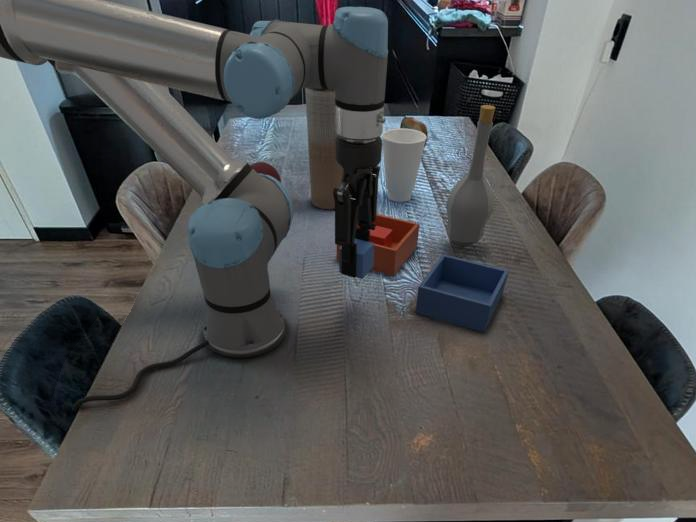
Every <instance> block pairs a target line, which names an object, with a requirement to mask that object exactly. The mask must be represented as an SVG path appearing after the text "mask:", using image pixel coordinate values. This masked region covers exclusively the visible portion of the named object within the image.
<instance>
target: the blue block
mask: <svg viewBox="0 0 696 522" xmlns="http://www.w3.org/2000/svg"><path fill="white" fill-rule="evenodd" d="M355 243H356V244H357V257H356V276H355V278H358V279H362V280H363V279H364V278H365V277H366V276H367V275H368V274H369V272H370V271H372V270H371V269H372V268H373V263H374V243H371V242H367V241H363V240H360V239H356V238H355ZM338 263H339V264H338V272H339V274H342V246H341V247H340V248H339V261H338Z"/></svg>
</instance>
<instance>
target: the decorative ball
mask: <svg viewBox="0 0 696 522" xmlns="http://www.w3.org/2000/svg"><path fill="white" fill-rule="evenodd" d="M250 166H251V167H252V168H253V169H254V170H255V171H256V172H257V173H258V174H264V175H270V176H272V177H274V178H275V179H277V180H278V181H279V182H280V183H281V184H282V179H281V176H280V173H279V172H278V170H277V169H276V168H275V167H274V166H273V165H272V164H270V163H267V162H264V161H258V162H254V163H253V164H252V163H251V165H250Z"/></svg>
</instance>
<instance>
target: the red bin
mask: <svg viewBox="0 0 696 522" xmlns="http://www.w3.org/2000/svg"><path fill="white" fill-rule="evenodd" d="M371 214H372V213H371ZM372 224H374V225H376V226H380V227H384V228H388V229H392V230H393V234H392V248H390V247H386V246H382V245H378V244H374V263H373V268H372V269H371V270H370V271H374V272H378V273H382V274H386V275H390V276H393V277H394V276H395V275H396V274H397V273H398V271H399V270H401V268H402V267H403V266H404V264H405V263H406V262H407V260H408V259H410V257H411V256H412V254H413V253H414V252H415V251H416V250H417V248H418V243H419V233H420V223H418V222H414V221H409V220H405V219H402V218H401V219H400V218H398V217H397V218H395V217H392V216H388V215H383V214H379V213H376V221H375V222H372ZM356 228H360V227H359V226H358V220H357V227H356ZM340 247H341V246H340V245H337V244H336V261H337V262H339V248H340Z"/></svg>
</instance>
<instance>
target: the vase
mask: <svg viewBox="0 0 696 522" xmlns="http://www.w3.org/2000/svg"><path fill="white" fill-rule="evenodd" d="M304 92H305V94H304V95H305V110H306V129H307V131H306V132H307V148H308V149H307V150H308V165H309V185H310V186H309V187H310V200H311V201H310V202H311V204H312V205H313V206H314V207H315V208H318V209H321V210H335V201H334V196H333V190H334V188H340V187H341V186H342V176H343V168H342V166H341V165H340V164H338V163H337V161H336V158H335V138H336V137H337V134H336V132H335V90H332V89H329V90H326V89H317V88H304Z"/></svg>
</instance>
